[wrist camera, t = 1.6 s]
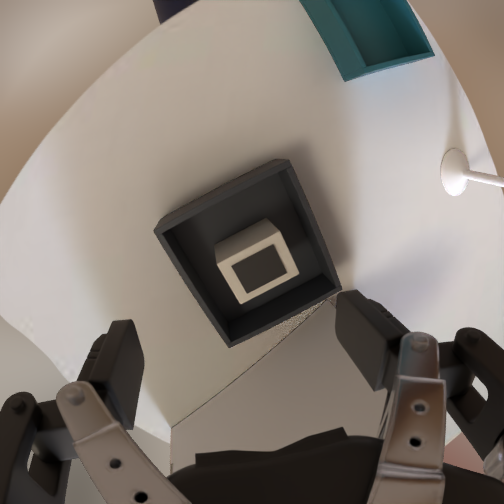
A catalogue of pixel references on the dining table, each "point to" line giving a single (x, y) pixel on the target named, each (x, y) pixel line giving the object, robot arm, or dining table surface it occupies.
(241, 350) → the dining table surface
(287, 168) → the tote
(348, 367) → the packaging
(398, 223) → the dining table surface
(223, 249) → the white box with panel
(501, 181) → the champagne flute
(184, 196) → the dining table surface
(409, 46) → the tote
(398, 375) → the robot arm
